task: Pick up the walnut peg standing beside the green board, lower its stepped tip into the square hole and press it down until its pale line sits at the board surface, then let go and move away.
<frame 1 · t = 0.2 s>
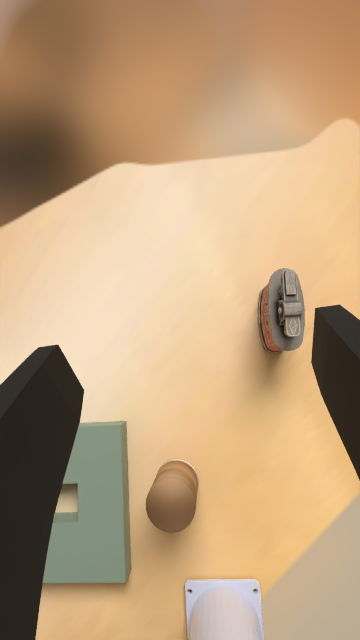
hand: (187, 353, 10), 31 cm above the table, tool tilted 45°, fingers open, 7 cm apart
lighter: (272, 319, 40), on the table
peg: (179, 472, 39), on the table
board: (53, 494, 39), on the table
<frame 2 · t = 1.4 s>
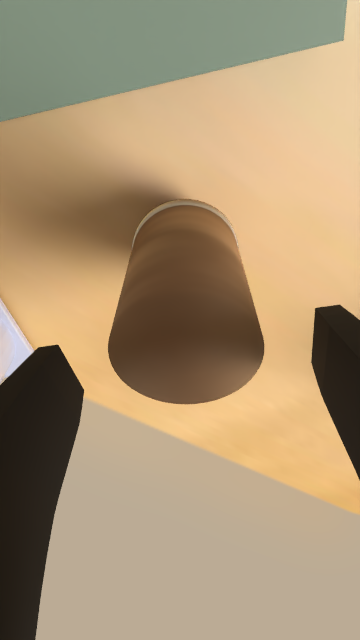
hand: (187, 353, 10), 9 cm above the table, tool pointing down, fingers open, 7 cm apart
peg: (184, 226, 17), on the table
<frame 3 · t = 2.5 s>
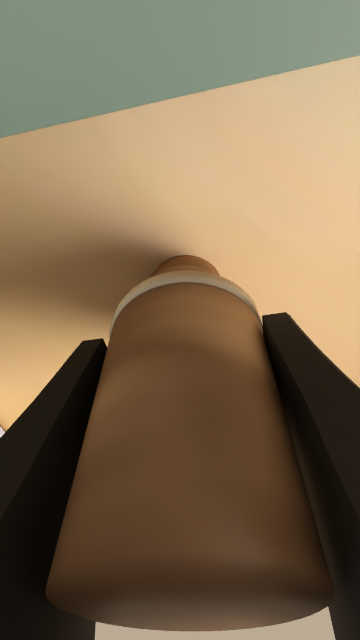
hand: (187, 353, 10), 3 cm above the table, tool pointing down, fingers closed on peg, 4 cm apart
peg: (186, 287, 12), on the table, touching gripper
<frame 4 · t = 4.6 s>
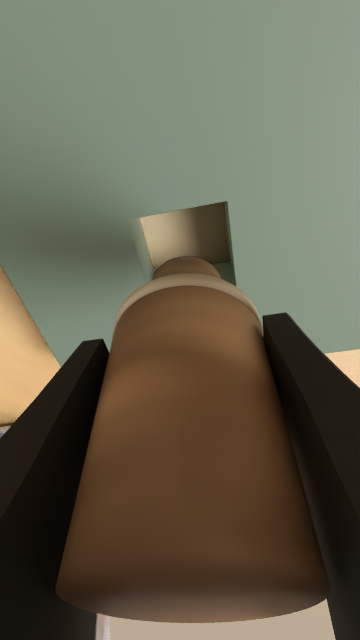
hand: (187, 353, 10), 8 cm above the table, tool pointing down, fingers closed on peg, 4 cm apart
peg: (186, 287, 12), point 5 cm above the table, touching gripper
board: (177, 190, 15), on the table
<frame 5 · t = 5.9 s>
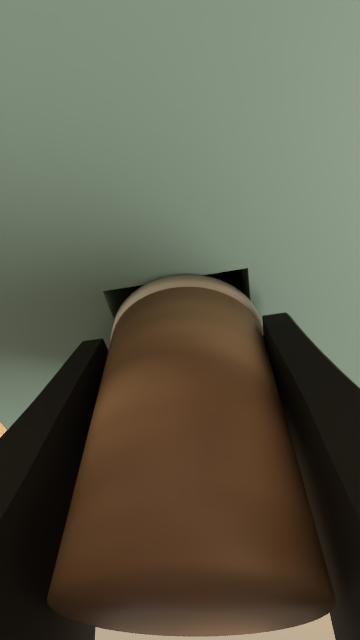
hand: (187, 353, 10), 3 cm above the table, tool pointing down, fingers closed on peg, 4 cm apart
peg: (186, 290, 12), resting in board, touching gripper
board: (175, 239, 11), on the table
when the fingers open (3 cm above the table, at t = 6.8 s): peg stays where it is, resting in board.
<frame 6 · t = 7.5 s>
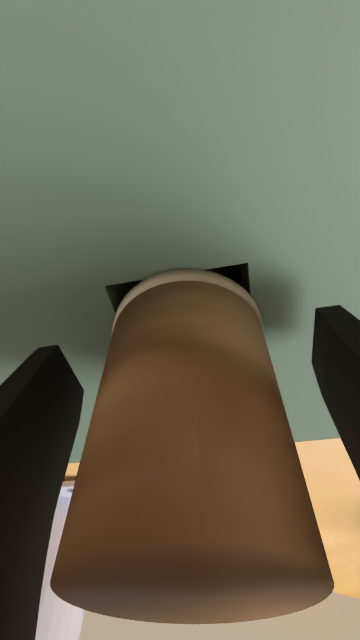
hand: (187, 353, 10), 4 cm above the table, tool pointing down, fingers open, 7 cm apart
peg: (186, 286, 12), resting in board
board: (176, 235, 11), on the table
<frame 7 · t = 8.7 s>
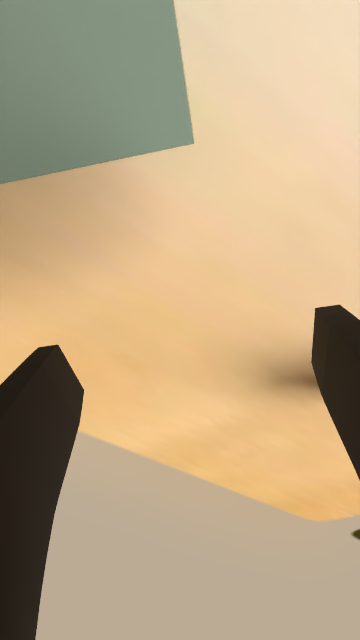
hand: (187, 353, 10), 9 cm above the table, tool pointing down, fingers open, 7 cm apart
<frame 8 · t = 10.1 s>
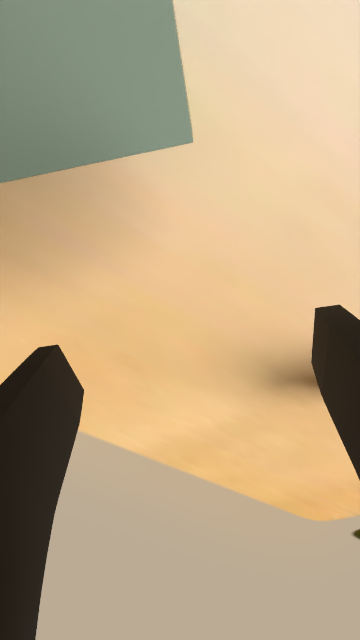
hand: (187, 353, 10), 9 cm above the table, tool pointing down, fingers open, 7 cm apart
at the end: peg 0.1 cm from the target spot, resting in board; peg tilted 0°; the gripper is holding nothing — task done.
